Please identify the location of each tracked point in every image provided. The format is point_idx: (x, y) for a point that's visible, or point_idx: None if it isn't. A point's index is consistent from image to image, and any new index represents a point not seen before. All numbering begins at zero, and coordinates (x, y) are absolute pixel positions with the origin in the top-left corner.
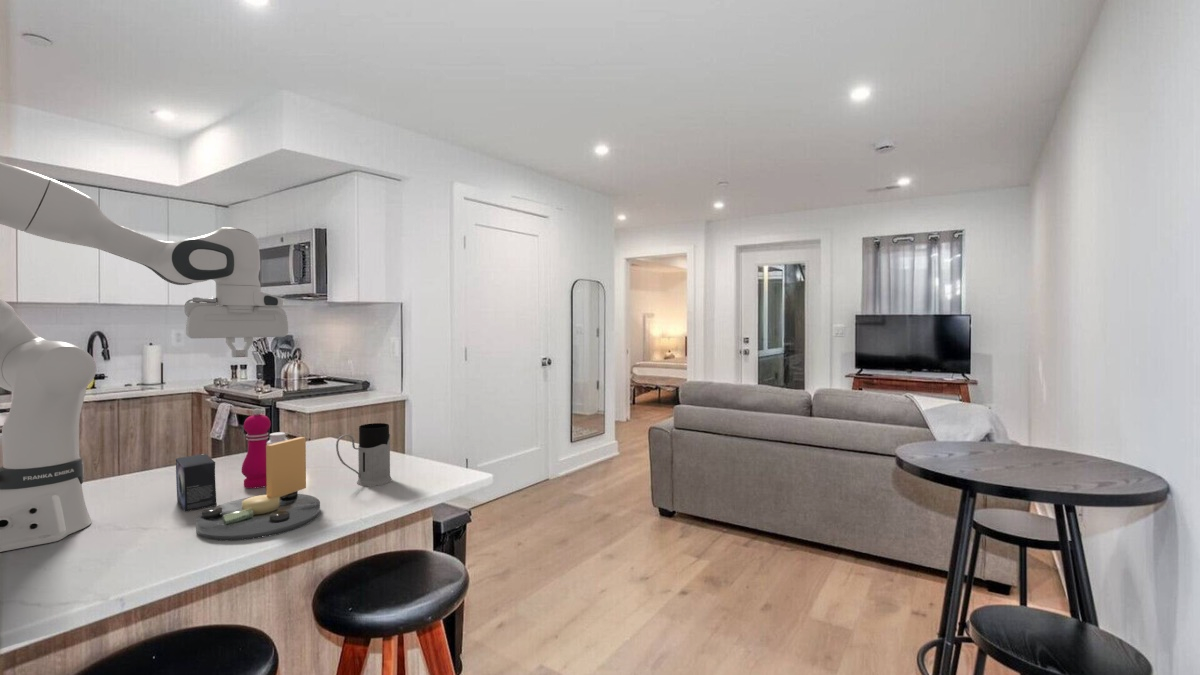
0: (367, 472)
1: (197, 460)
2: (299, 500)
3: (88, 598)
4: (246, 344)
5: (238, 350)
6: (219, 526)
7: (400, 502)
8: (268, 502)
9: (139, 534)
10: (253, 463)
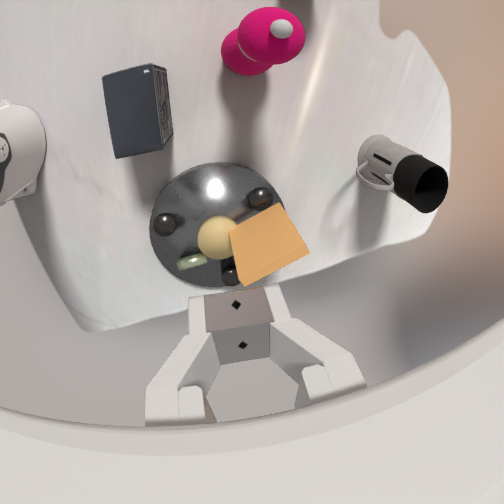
0: (373, 177)
1: (134, 123)
2: None
3: (106, 321)
4: (300, 367)
5: (231, 359)
6: (174, 264)
7: (352, 253)
8: (226, 256)
9: (98, 207)
10: (240, 68)
